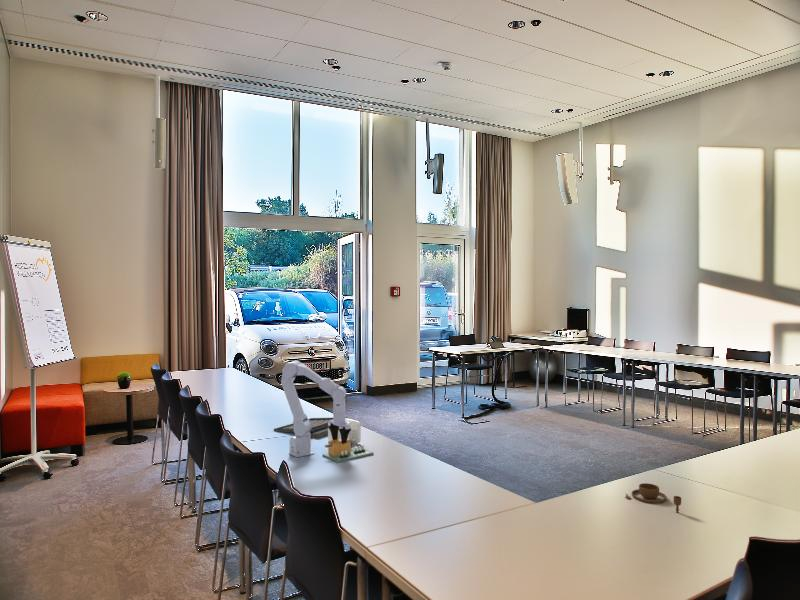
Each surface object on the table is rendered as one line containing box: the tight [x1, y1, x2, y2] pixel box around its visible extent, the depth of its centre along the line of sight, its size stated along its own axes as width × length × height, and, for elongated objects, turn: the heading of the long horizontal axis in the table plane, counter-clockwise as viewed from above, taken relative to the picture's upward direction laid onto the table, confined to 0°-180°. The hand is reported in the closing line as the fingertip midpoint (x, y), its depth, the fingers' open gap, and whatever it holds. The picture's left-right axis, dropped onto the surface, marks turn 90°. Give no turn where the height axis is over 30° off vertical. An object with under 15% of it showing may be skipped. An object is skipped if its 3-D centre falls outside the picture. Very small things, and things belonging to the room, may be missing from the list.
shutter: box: [273, 416, 348, 440], centre depth 316 cm, size 32×7×31 cm
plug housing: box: [324, 438, 351, 456], centre depth 264 cm, size 12×5×6 cm, turn 130°
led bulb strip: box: [354, 444, 366, 454], centre depth 266 cm, size 6×1×3 cm, turn 130°
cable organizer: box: [327, 417, 362, 445], centre depth 285 cm, size 15×11×12 cm
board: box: [322, 446, 374, 463], centre depth 264 cm, size 20×13×1 cm, turn 130°
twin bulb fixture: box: [340, 450, 349, 458], centre depth 258 cm, size 4×1×3 cm, turn 130°
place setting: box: [625, 482, 682, 514], centre depth 206 cm, size 18×20×6 cm
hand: (339, 441), depth 265 cm, fingers open, 7 cm apart
